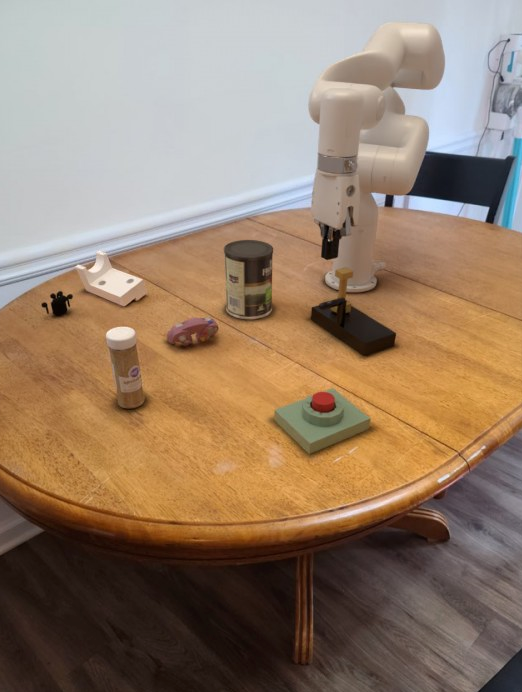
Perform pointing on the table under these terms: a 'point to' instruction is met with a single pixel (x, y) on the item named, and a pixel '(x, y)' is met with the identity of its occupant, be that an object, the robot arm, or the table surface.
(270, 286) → the coffee can
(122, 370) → the sprinkles bottle
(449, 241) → the table surface
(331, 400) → the button
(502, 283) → the table surface
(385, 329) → the tap base
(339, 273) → the tap handle
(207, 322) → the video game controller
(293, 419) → the block
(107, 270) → the bracket
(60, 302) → the wireless earbuds
